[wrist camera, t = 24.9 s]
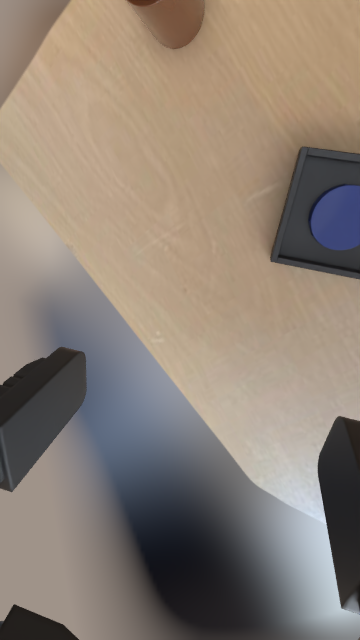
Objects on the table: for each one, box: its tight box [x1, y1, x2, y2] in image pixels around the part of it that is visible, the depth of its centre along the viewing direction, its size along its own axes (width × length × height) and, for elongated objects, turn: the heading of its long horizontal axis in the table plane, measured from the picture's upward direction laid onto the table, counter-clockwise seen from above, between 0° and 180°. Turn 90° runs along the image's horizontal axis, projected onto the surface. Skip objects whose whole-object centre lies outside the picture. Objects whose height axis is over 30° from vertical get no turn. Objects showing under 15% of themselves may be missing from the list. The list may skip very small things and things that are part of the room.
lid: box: [308, 184, 360, 250], centre depth 30 cm, size 6×6×2 cm
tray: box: [270, 147, 360, 279], centre depth 30 cm, size 11×11×2 cm
